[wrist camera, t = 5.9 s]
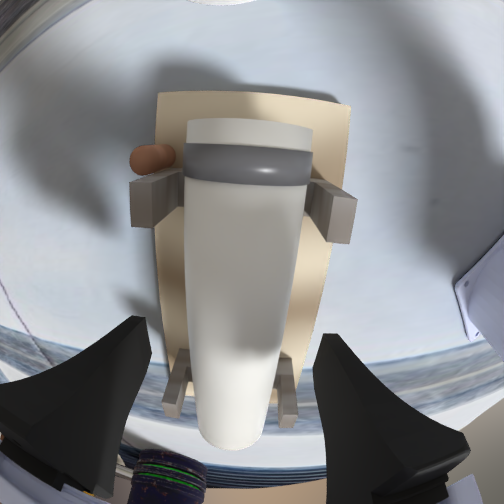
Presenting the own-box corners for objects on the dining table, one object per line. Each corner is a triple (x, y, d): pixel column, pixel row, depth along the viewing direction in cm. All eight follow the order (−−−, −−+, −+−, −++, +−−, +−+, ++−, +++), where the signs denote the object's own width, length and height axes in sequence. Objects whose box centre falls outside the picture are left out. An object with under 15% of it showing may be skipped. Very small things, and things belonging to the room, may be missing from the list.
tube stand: (162, 95, 11) (109, 74, 6) (344, 108, 12) (395, 91, 6) (176, 383, 19) (160, 439, 14) (290, 394, 19) (295, 452, 14)
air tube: (264, 401, 16) (264, 453, 12) (202, 396, 16) (192, 447, 12) (303, 133, 10) (330, 128, 6) (199, 125, 10) (167, 117, 6)
